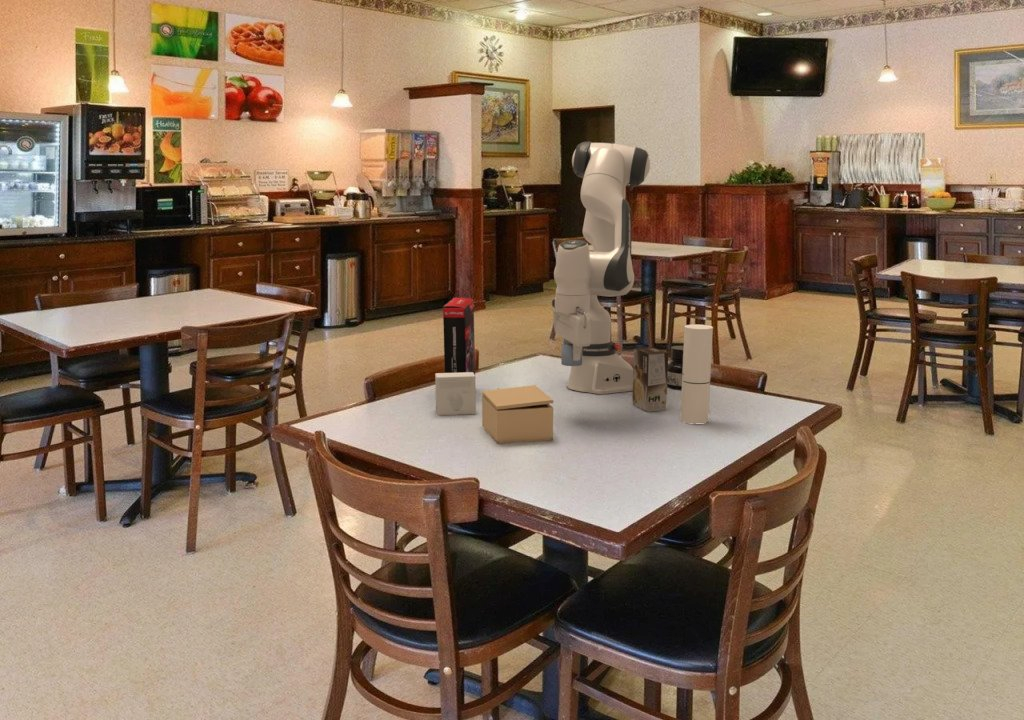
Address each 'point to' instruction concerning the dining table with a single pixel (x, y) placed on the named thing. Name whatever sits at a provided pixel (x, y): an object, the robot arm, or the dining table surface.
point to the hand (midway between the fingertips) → (571, 357)
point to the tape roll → (569, 355)
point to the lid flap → (517, 397)
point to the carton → (518, 422)
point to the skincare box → (455, 393)
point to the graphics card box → (459, 336)
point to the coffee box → (650, 379)
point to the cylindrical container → (696, 373)
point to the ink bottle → (675, 368)
